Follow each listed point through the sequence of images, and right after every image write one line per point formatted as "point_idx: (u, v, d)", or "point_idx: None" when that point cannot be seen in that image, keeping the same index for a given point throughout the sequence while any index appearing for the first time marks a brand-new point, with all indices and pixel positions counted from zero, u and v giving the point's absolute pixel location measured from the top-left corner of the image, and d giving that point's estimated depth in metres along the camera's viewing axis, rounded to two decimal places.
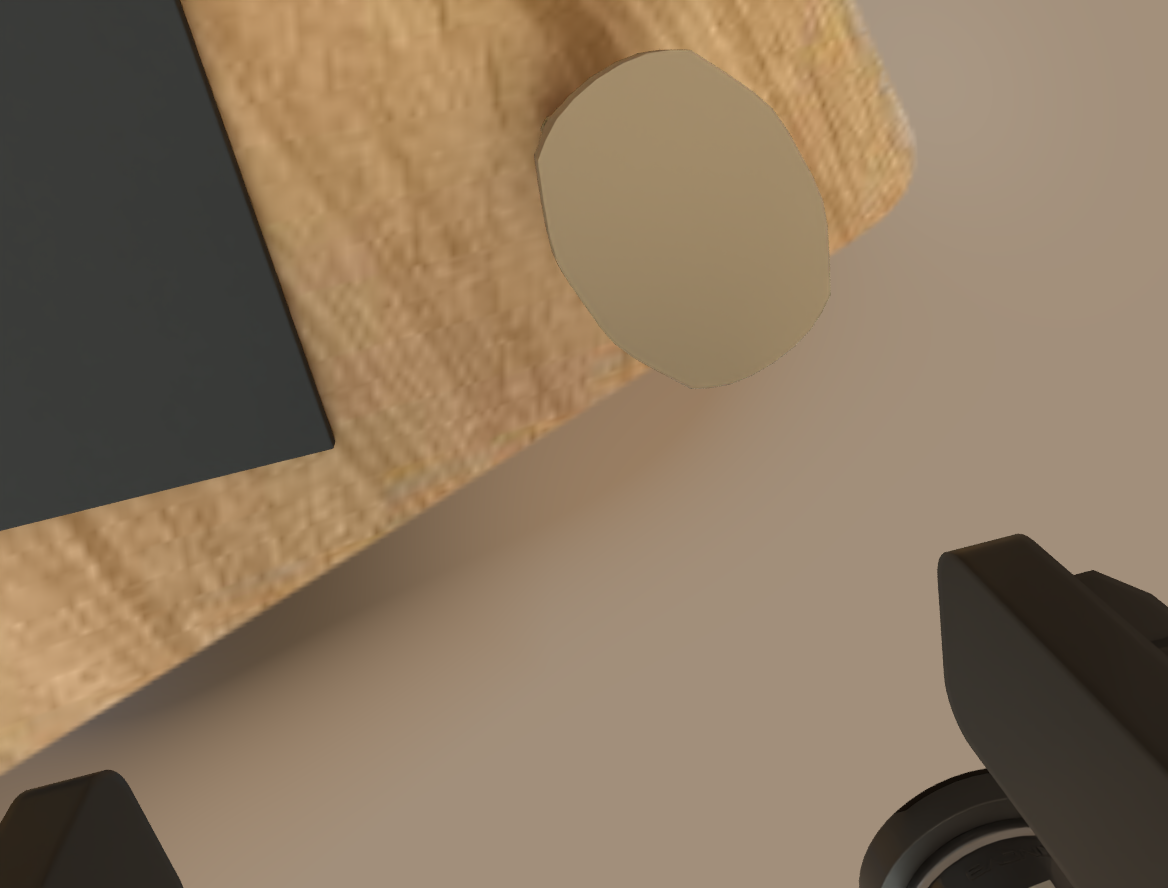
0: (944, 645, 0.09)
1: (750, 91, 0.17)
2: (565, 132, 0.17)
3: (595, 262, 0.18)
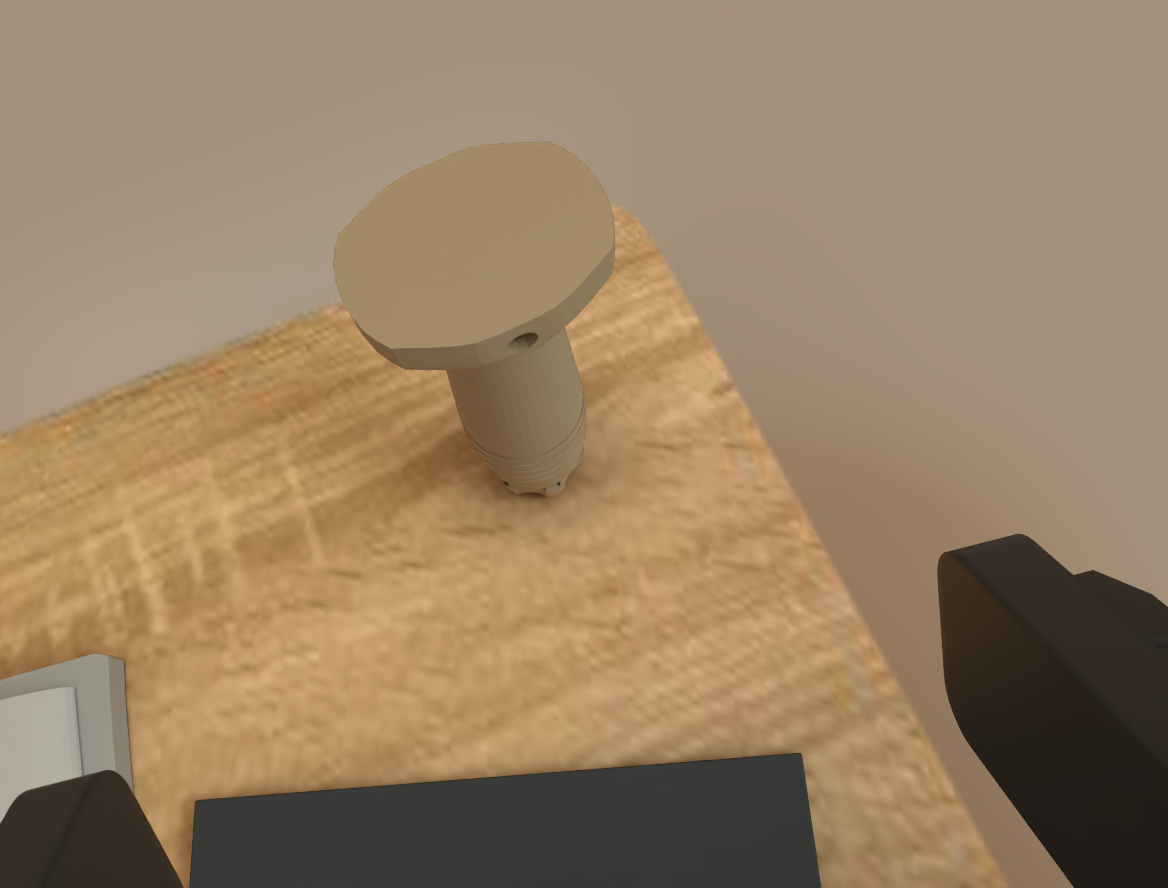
0: (944, 645, 0.09)
1: (377, 195, 0.22)
2: (374, 325, 0.21)
3: (483, 314, 0.21)
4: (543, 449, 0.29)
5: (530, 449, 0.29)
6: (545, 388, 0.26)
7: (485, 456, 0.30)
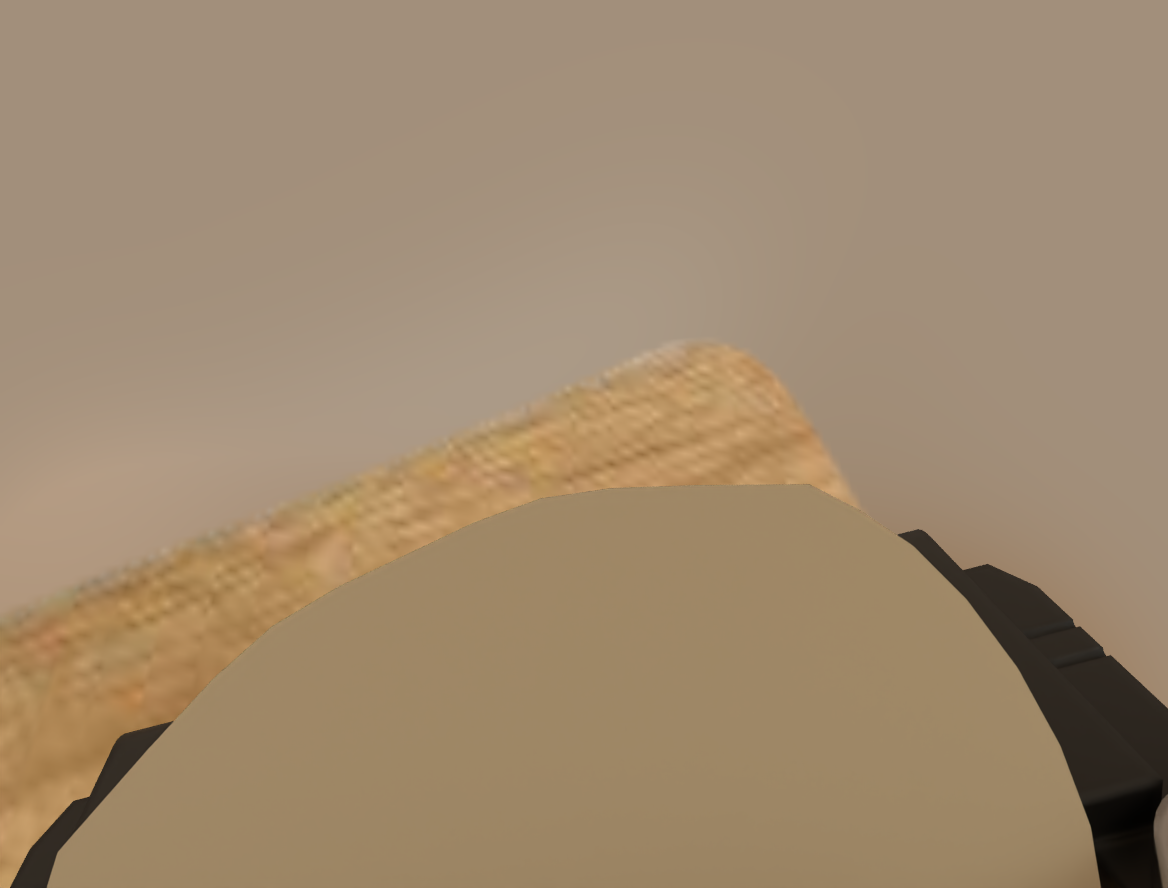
0: None
1: (211, 686, 0.06)
2: None
3: None
4: None
5: None
6: None
7: None
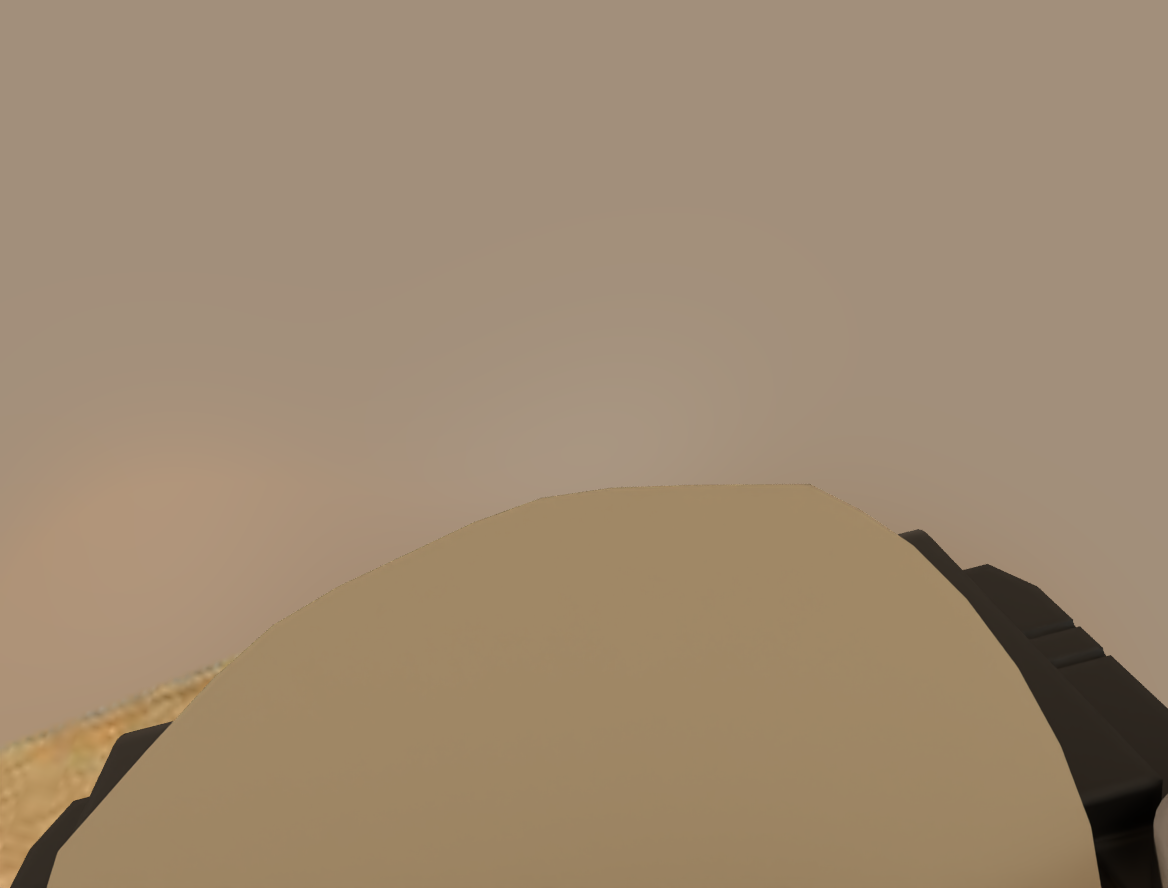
0: None
1: (211, 685, 0.06)
2: None
3: None
4: None
5: None
6: None
7: None
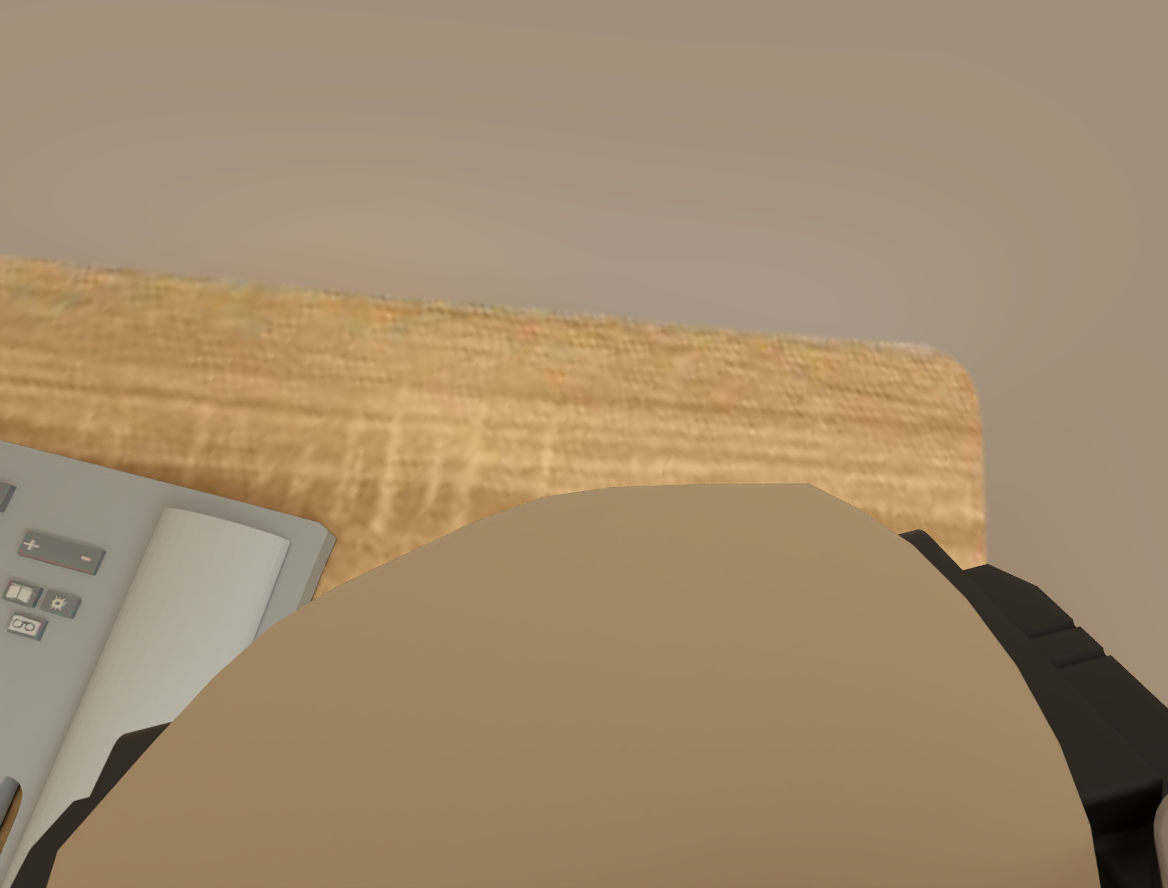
0: None
1: (212, 684, 0.06)
2: None
3: None
4: None
5: None
6: None
7: None
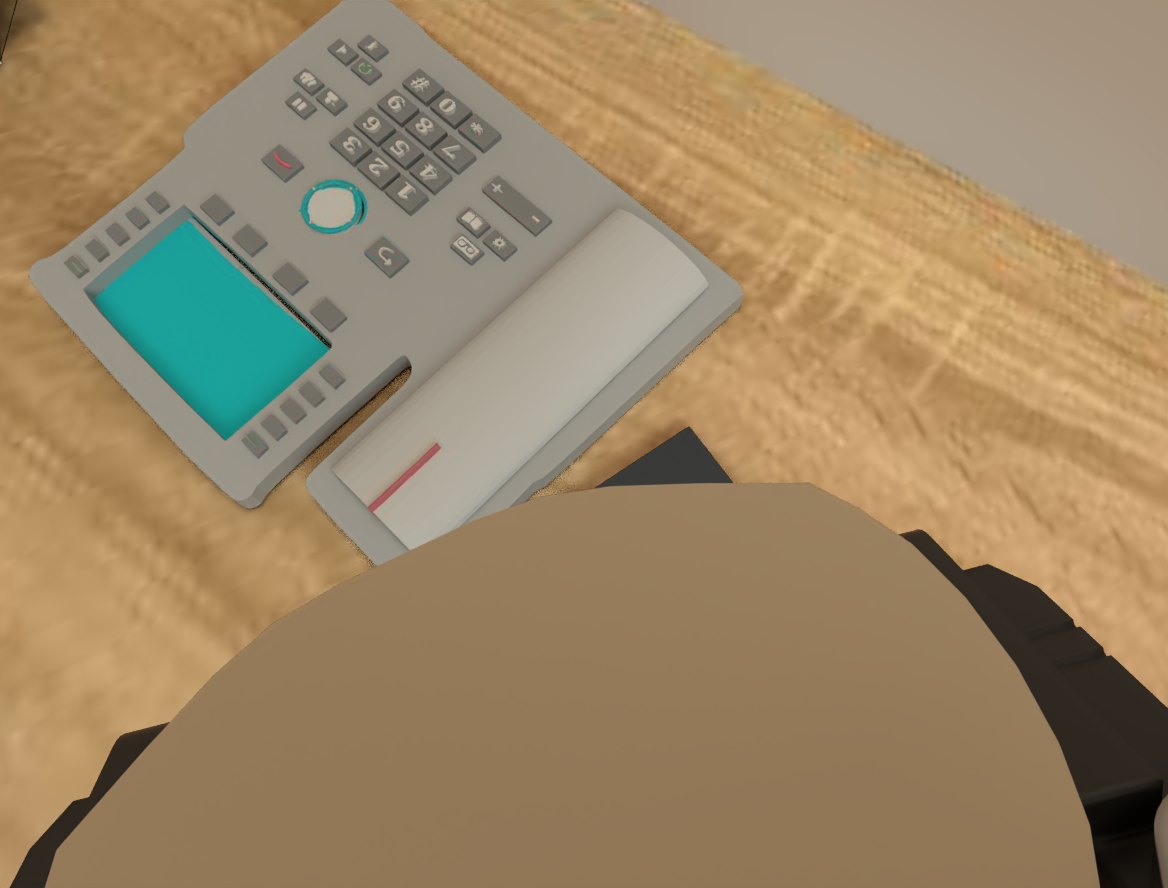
0: None
1: (210, 684, 0.06)
2: None
3: None
4: None
5: None
6: None
7: None
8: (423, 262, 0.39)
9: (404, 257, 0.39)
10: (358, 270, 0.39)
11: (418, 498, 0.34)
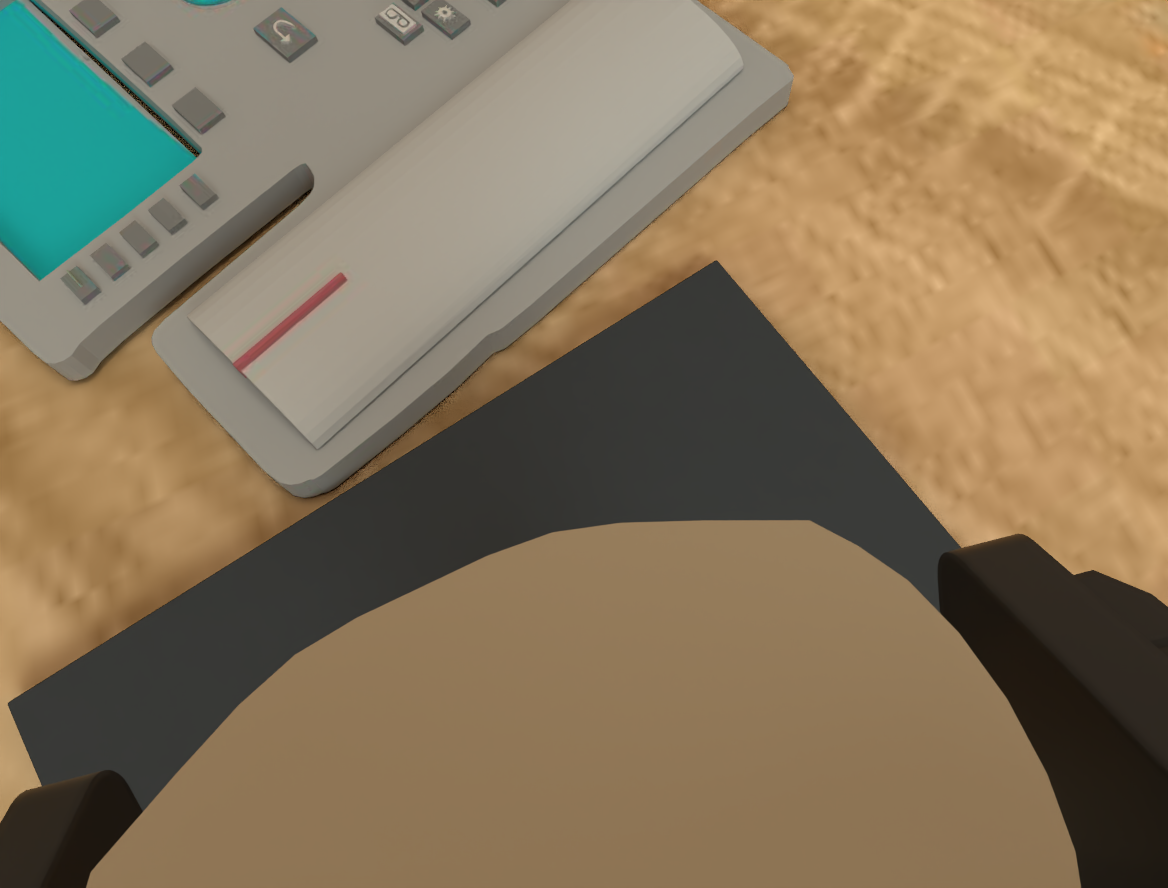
0: None
1: (237, 713, 0.07)
2: None
3: None
4: None
5: None
6: None
7: None
8: (337, 42, 0.27)
9: (310, 34, 0.27)
10: (244, 53, 0.27)
11: (311, 351, 0.23)
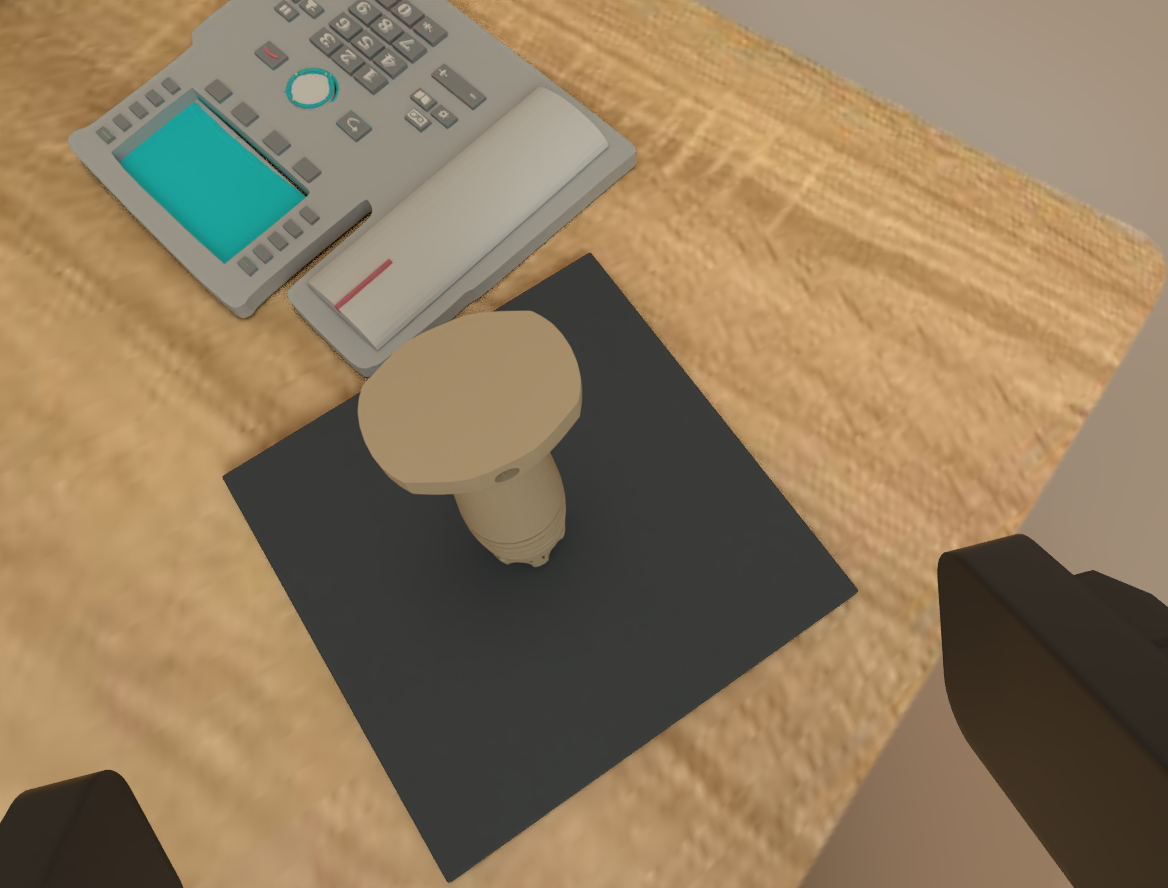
0: (944, 646, 0.09)
1: (393, 354, 0.28)
2: (390, 463, 0.26)
3: (475, 455, 0.26)
4: (528, 536, 0.35)
5: (517, 537, 0.34)
6: (528, 494, 0.32)
7: (479, 539, 0.36)
8: (383, 130, 0.48)
9: (368, 126, 0.48)
10: (331, 136, 0.48)
11: (374, 299, 0.44)
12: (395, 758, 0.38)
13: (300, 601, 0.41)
